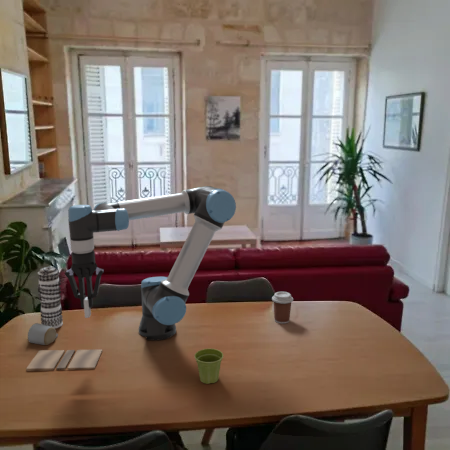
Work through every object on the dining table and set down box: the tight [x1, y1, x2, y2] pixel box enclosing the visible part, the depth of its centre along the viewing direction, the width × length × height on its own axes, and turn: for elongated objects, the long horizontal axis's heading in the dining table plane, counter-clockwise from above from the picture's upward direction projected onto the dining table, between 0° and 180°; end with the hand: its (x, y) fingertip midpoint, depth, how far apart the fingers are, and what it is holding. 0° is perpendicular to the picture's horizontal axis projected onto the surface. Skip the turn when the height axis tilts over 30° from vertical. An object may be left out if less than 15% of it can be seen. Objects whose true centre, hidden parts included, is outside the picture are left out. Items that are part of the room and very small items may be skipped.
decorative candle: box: [37, 266, 64, 330], centre depth 188 cm, size 9×9×25 cm
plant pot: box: [194, 348, 224, 385], centre depth 148 cm, size 9×9×9 cm
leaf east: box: [25, 349, 66, 372], centre depth 158 cm, size 9×13×1 cm
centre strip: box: [55, 349, 76, 371], centre depth 158 cm, size 3×13×2 cm, turn 4°
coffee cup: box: [271, 291, 294, 324], centre depth 194 cm, size 9×9×12 cm
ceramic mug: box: [27, 322, 59, 346], centre depth 174 cm, size 11×8×8 cm
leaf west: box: [67, 348, 103, 371], centre depth 159 cm, size 9×13×1 cm
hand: (87, 316), depth 157 cm, fingers closed
